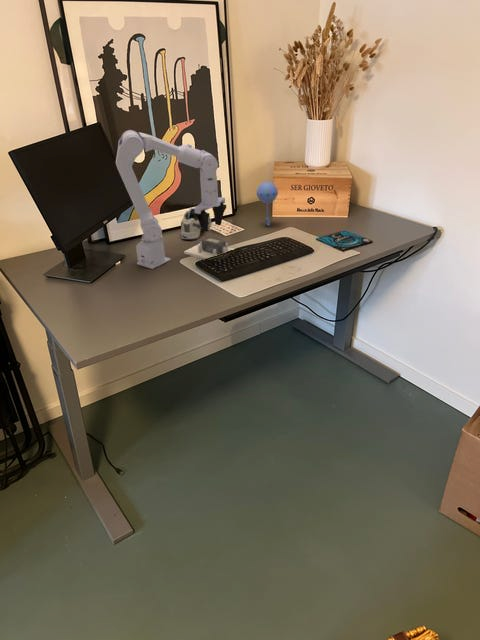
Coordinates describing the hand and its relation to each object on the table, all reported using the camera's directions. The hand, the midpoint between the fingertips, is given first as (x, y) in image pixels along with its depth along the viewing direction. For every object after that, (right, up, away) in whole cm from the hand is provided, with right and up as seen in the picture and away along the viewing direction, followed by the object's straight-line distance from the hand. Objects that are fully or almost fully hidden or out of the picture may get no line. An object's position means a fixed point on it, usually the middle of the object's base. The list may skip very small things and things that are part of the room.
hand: (211, 227), depth 173 cm
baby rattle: (+22, +7, +30) cm, 37 cm away
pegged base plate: (0, -8, +5) cm, 10 cm away
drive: (+1, -8, +4) cm, 9 cm away
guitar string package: (+50, -4, +12) cm, 51 cm away
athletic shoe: (-8, +3, +27) cm, 28 cm away
